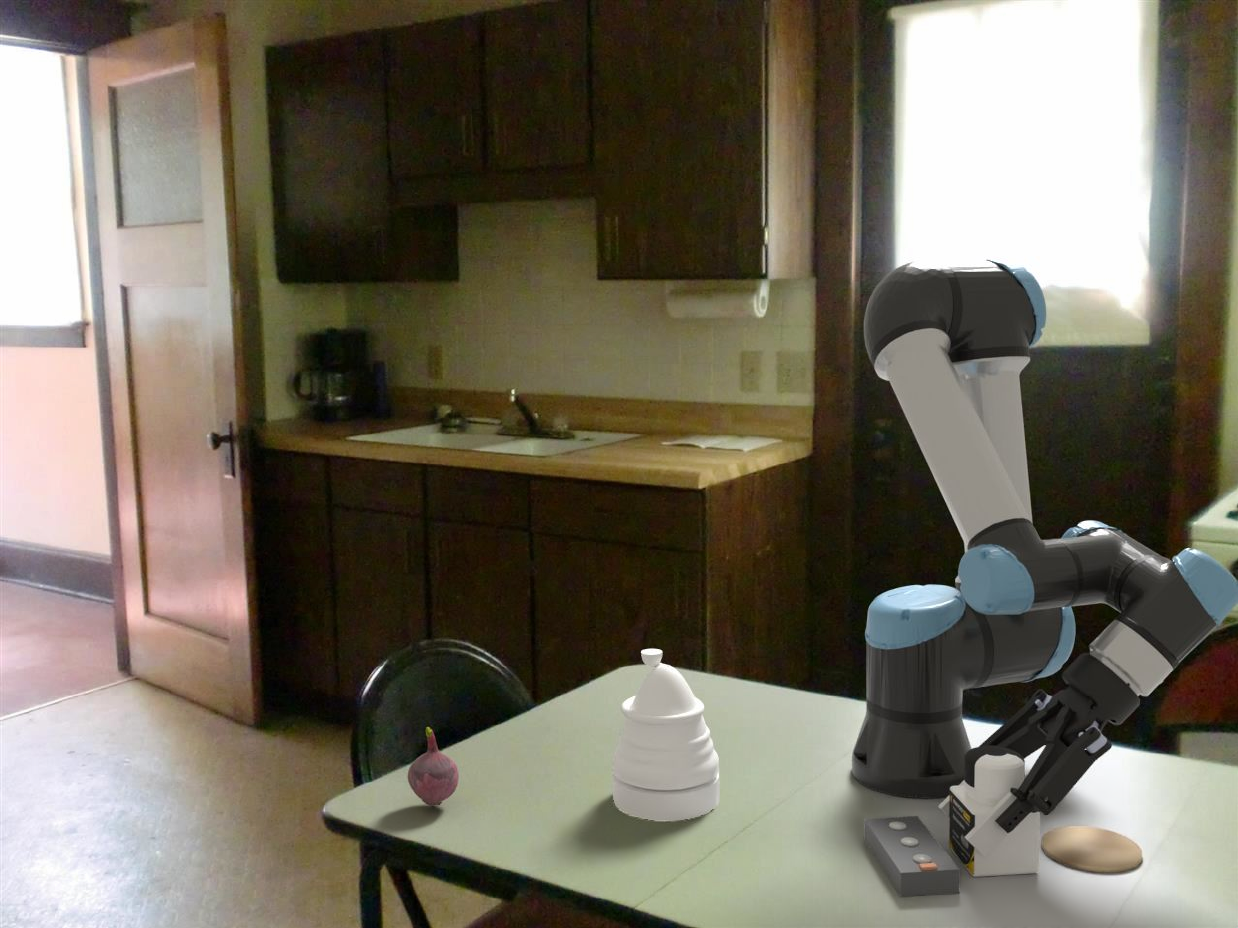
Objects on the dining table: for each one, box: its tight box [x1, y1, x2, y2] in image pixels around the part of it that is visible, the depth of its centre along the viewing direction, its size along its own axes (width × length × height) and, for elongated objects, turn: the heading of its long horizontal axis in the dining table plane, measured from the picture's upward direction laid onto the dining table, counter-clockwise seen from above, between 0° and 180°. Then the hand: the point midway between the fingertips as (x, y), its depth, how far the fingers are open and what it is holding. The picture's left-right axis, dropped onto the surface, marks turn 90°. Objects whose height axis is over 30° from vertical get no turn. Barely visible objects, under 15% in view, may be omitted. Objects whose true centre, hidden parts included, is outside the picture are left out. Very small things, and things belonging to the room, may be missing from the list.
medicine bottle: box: [948, 745, 1041, 878], centre depth 126 cm, size 7×7×12 cm
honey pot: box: [611, 648, 720, 822], centre depth 144 cm, size 13×13×18 cm
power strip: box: [863, 815, 961, 898], centre depth 126 cm, size 13×6×3 cm, turn 5°
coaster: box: [1041, 825, 1143, 873], centre depth 129 cm, size 10×10×1 cm
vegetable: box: [407, 726, 459, 807], centre depth 143 cm, size 6×6×10 cm
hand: (961, 830), depth 126 cm, fingers closed on medicine bottle, 7 cm apart
